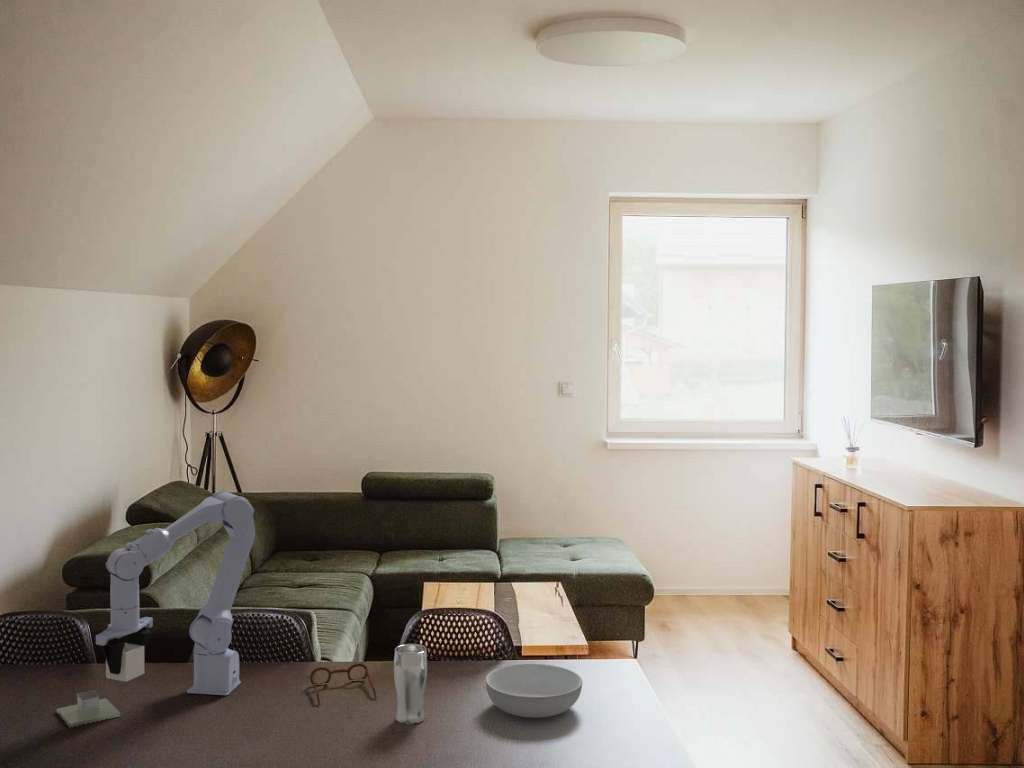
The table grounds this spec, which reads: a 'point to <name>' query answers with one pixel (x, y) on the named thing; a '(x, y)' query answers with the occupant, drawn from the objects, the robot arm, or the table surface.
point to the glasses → (339, 672)
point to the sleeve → (129, 663)
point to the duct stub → (88, 710)
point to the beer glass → (410, 682)
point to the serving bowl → (533, 689)
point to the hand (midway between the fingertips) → (125, 668)
